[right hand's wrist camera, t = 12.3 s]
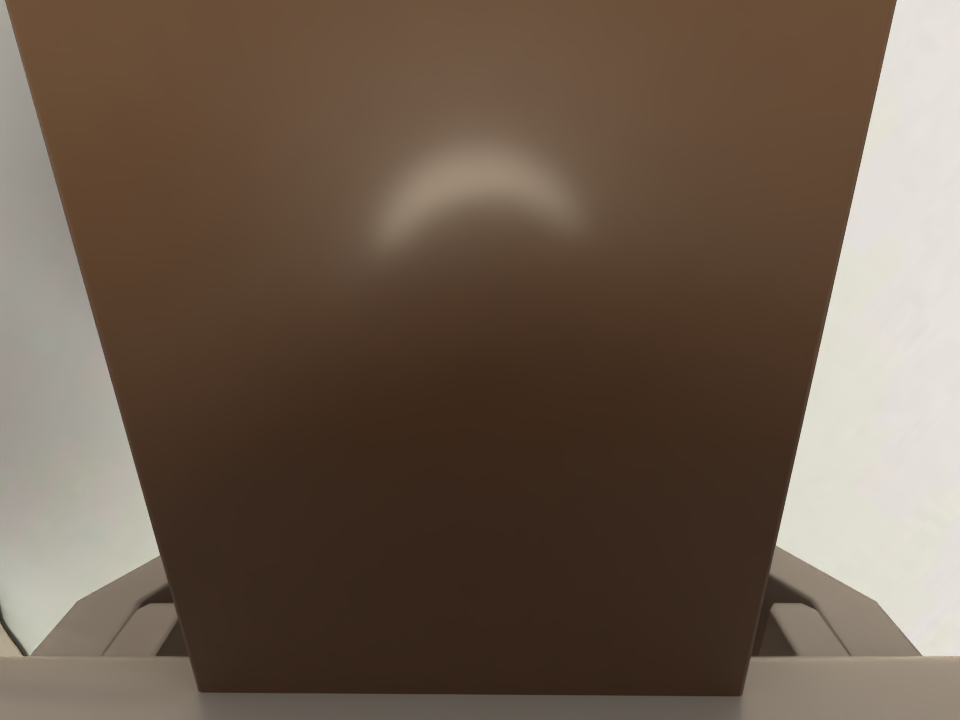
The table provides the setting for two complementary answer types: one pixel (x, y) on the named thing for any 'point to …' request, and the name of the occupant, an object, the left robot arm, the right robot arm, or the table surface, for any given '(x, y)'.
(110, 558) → the table surface
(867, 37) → the post
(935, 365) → the table surface
